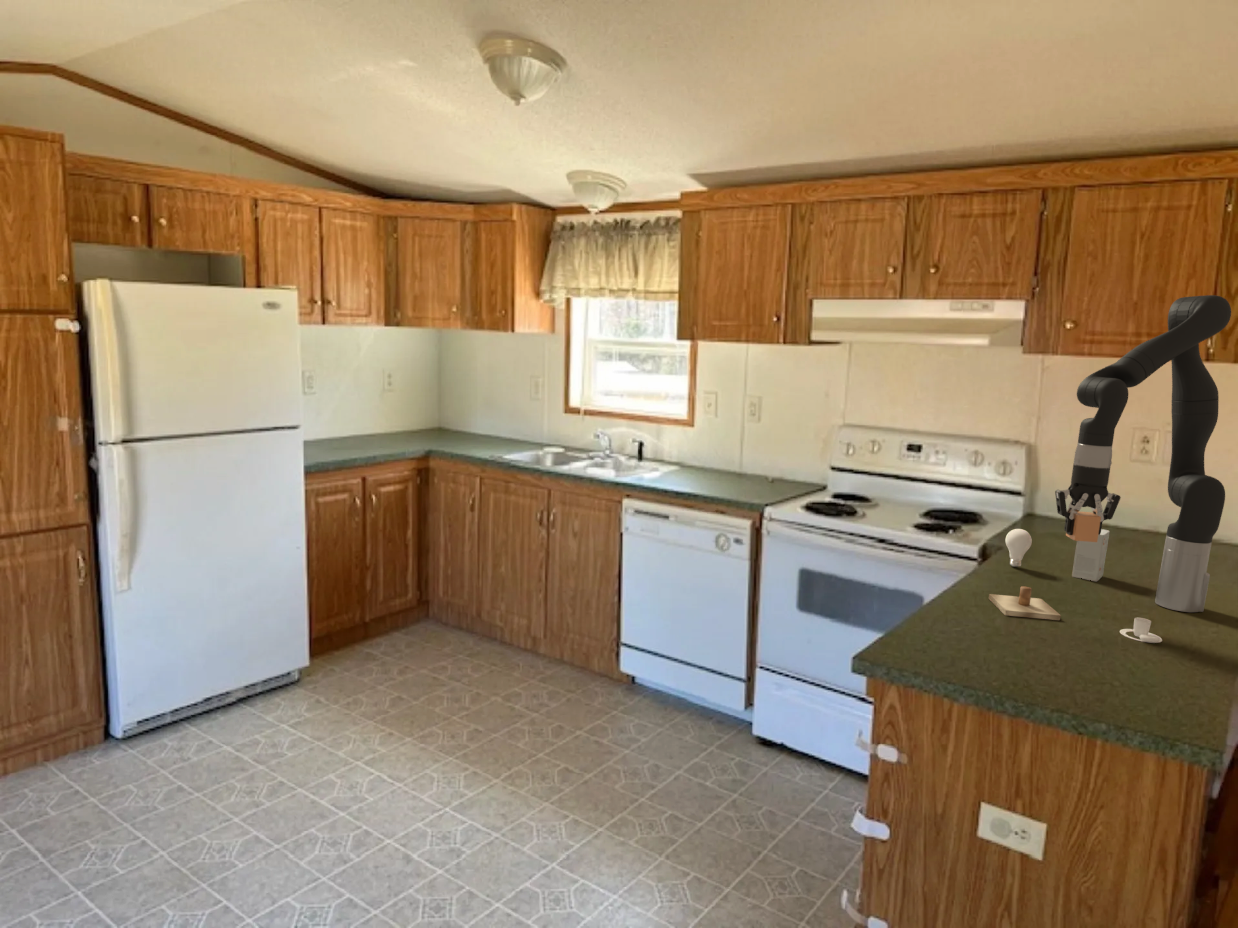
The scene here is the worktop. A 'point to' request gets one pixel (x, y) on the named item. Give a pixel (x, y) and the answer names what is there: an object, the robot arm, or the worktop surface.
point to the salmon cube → (1085, 527)
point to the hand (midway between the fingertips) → (1081, 534)
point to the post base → (1024, 605)
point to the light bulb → (1018, 545)
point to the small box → (1091, 558)
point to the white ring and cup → (1142, 631)
